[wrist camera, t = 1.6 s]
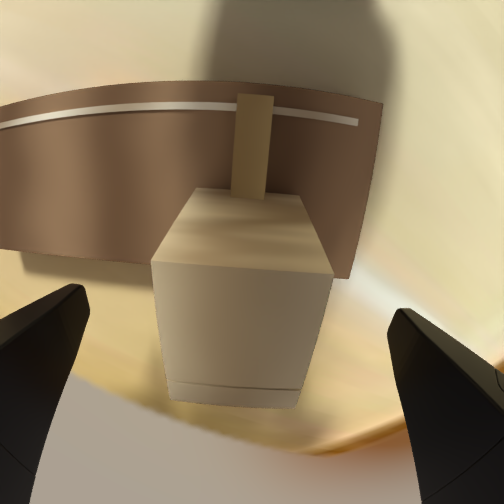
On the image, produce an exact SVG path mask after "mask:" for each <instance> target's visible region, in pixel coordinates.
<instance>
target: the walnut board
mask: <svg viewBox="0 0 504 504" xmlns="http://www.w3.org/2000/svg"><path fill="white" fill-rule="evenodd" d="M238 93H242V94H256V95H267V96H274V103H273V114H272V124H271V135H270V145H269V155H268V166H267V176H266V186H265V192H267V193H278V194H289V195H299V196H300V199H301V201H302V203H303V205H304V207H305V209H306V211H307V213H308V216H309V218H310V220H311V222H312V224H313V227H314V229H315V231H316V233H317V235H318V238H319V240H320V242H321V244H322V247H323V249H324V251H325V254H326V256H327V258H328V261H329V263H330V265H331V268H332V270H333V272H334V278H339V279H349V276H350V273H351V269H352V265H353V261H354V257H355V253H356V249H357V245H358V241H359V237H360V232H361V228H362V224H363V219H364V214H365V210H366V205H367V200H368V195H369V190H370V185H371V180H372V174H373V169H374V163H375V157H376V151H377V145H378V138H379V131H380V124H381V117H382V109H383V104H382V103H378V102H373V101H369V100H365V99H360V98H355V97H351V96H346V95H340V94H335V93H329V92H323V91H317V90H311V89H304V88H296V87H288V86H280V85H270V84H259V83H246V82H227V81H159V82H141V83H128V84H117V85H108V86H100V87H92V88H85V89H79V90H72V91H67V92H61V93H56V94H51V95H46V96H41V97H37V98H32V99H28V100H24V101H20V102H16V103H12V104H9V105H5V106H1V107H0V249H6V250H14V251H23V252H32V253H41V254H50V255H59V256H68V257H78V258H88V259H98V260H108V261H118V262H129V263H140V264H151V259H152V257H153V256H154V254H155V252H156V251H157V249H158V247H159V246H160V244H161V242H162V241H163V239H164V238H165V236H166V234H167V233H168V231H169V229H170V228H171V226H172V225H173V223H174V221H175V220H176V218H177V217H178V215H179V214H180V212H181V210H182V209H183V207H184V206H185V204H186V203H187V201H188V200H189V198H190V197H191V195H192V194H193V192H194V191H195V189H196V188H213V189H228V190H231V180H232V164H233V150H234V136H235V123H236V110H237V97H238Z"/></svg>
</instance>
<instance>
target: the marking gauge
mask: <svg viewBox="0 0 504 504" xmlns="http://www.w3.org/2000/svg"><path fill="white" fill-rule="evenodd" d="M273 103H274V96H267V95H256V94H242V93H238V97H237V110H236V123H235V136H234V150H233V164H232V180H231V190H228V189H213V188H196V189H195V191H194V192H193V194H192V195H191V197H190V198H189V200H188V201H187V203H186V204H185V206H184V207H183V209H182V210H181V212H180V214H179V215H178V217H177V218H176V220H175V221H174V223H173V225H172V226H171V228H170V229H169V231H168V233H167V234H166V236H165V238H164V239H163V241H162V242H161V244H160V246H159V247H158V249H157V251H156V252H155V254H154V256H153V257H152V259H151V270H152V280H153V290H154V299H155V308H156V316H157V323H158V330H159V337H160V344H161V351H162V357H163V363H164V369H165V375H166V379H167V386H168V391H169V396H170V400H176V401H183V402H191V403H200V404H210V405H221V406H234V407H251V408H285V409H295V407H296V405H297V402H298V399H299V396H300V393H301V389H302V387H303V384H304V380H305V377H306V374H307V371H308V368H309V365H310V361H311V358H312V355H313V351H314V348H315V345H316V341H317V338H318V334H319V331H320V327H321V324H322V320H323V316H324V313H325V309H326V305H327V301H328V298H329V294H330V290H331V286H332V282H333V278H334V272H333V270H332V268H331V265H330V263H329V261H328V258H327V256H326V254H325V251H324V249H323V247H322V244H321V242H320V240H319V238H318V235H317V233H316V231H315V229H314V227H313V224H312V222H311V220H310V218H309V216H308V213H307V211H306V209H305V207H304V205H303V203H302V201H301V199H300V196H299V195H289V194H278V193H267V192H265V186H266V176H267V166H268V155H269V145H270V135H271V124H272V114H273Z"/></svg>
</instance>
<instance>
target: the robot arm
mask: <svg viewBox="0 0 504 504" xmlns="http://www.w3.org/2000/svg"><path fill="white" fill-rule="evenodd" d="M89 315H90V307H89V303H88V299H87V295H86V291H85V288H84V286H83V285H80V284H73V283H72V284H68V285H66V286H64V287H62V288H60V289H58V290H56V291H54V292H52V293H50V294H48V295H46V296H44V297H42V298H40V299H38V300H36V301H35V302H33V303H31V304H29V305H27V306H25V307H23V308H21V309H19V310H17V311H15V312H13V313H11V314H10V315H8V316H6V317H4V318H2V319H0V504H29V502H30V497H31V493H32V489H33V485H34V481H35V475H36V472H37V468H38V465H39V461H40V457H41V454H42V450H43V447H44V444H45V441H46V438H47V434H48V431H49V428H50V425H51V422H52V419H53V416H54V414H55V411H56V408H57V405H58V402H59V399H60V397H61V394H62V392H63V389H64V386H65V384H66V381H67V379H68V376H69V374H70V371H71V369H72V366H73V364H74V361H75V359H76V356H77V353H78V350H79V346H80V343H81V340H82V337H83V334H84V331H85V328H86V325H87V322H88V319H89ZM387 339H388V344H389V349H390V355H391V360H392V366H393V372H394V377H395V382H396V386H397V389H398V393H399V397H400V401H401V405H402V409H403V413H404V417H405V421H406V425H407V429H408V433H409V438H410V442H411V447H412V452H413V457H414V462H415V466H416V472H417V477H418V483H419V489H420V496H421V501H422V504H504V374H503V373H502V372H500V371H499V370H497V369H495V368H494V367H493V366H492V365H491V364H489V363H488V362H486V361H485V360H484V359H482V358H481V357H480V356H478V355H477V354H475V353H474V352H473V351H471V350H470V349H468V348H467V347H466V346H464V345H463V344H461V343H460V342H458V341H457V340H456V339H454V338H453V337H451V336H450V335H448V334H447V333H446V332H444V331H443V330H441V329H440V328H438V327H437V326H435V325H434V324H433V323H431V322H430V321H428V320H427V319H425V318H424V317H422V316H421V315H419V314H418V313H416V312H415V311H413V310H412V309H410V308H399V309H397V310H396V312H395V314H394V316H393V319H392V321H391V324H390V326H389V328H388V332H387Z"/></svg>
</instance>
